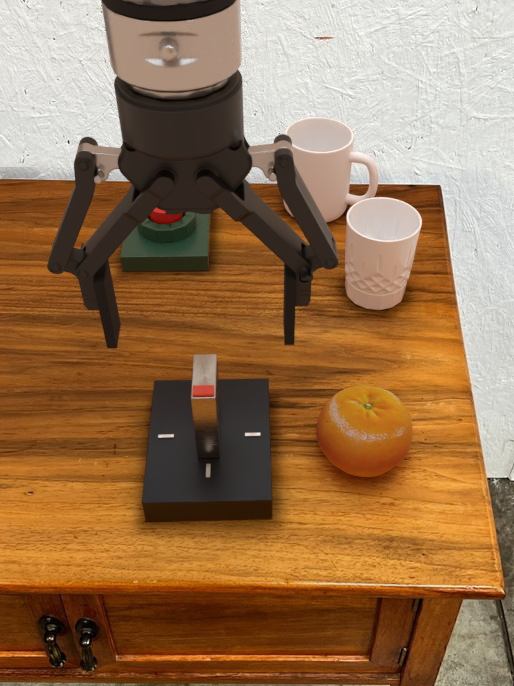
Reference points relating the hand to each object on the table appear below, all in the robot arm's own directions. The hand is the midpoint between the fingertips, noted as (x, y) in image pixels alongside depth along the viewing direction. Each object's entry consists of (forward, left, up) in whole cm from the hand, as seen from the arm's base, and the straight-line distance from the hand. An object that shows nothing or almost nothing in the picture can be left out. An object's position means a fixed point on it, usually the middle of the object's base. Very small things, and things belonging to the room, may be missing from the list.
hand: (201, 335), depth 61 cm
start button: (-33, -6, -12) cm, 36 cm away
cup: (-39, +14, -16) cm, 44 cm away
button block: (-33, -6, -16) cm, 37 cm away
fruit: (0, +14, -16) cm, 21 cm away
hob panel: (0, 0, -16) cm, 16 cm away
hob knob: (0, 0, -13) cm, 13 cm away
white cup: (-23, +18, -16) cm, 33 cm away
